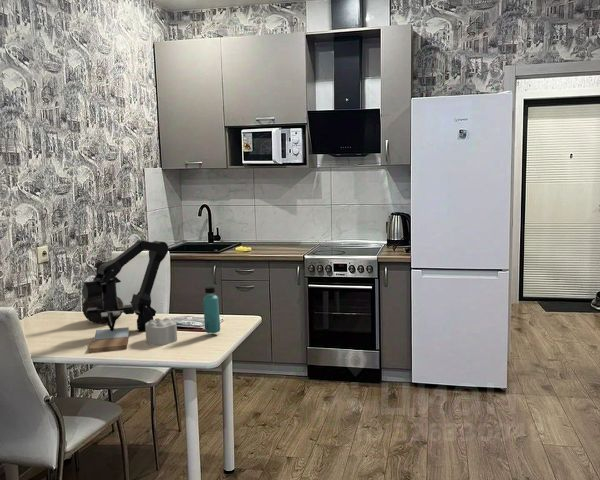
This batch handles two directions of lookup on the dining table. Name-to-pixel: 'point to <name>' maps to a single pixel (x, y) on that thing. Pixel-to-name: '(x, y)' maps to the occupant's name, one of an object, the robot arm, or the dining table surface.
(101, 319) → the brown flower vase
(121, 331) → the floor tile
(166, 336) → the lumpy-topped squat cylinder
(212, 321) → the beverage bottle
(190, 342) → the dining table surface
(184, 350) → the dining table surface
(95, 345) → the walnut floor board
